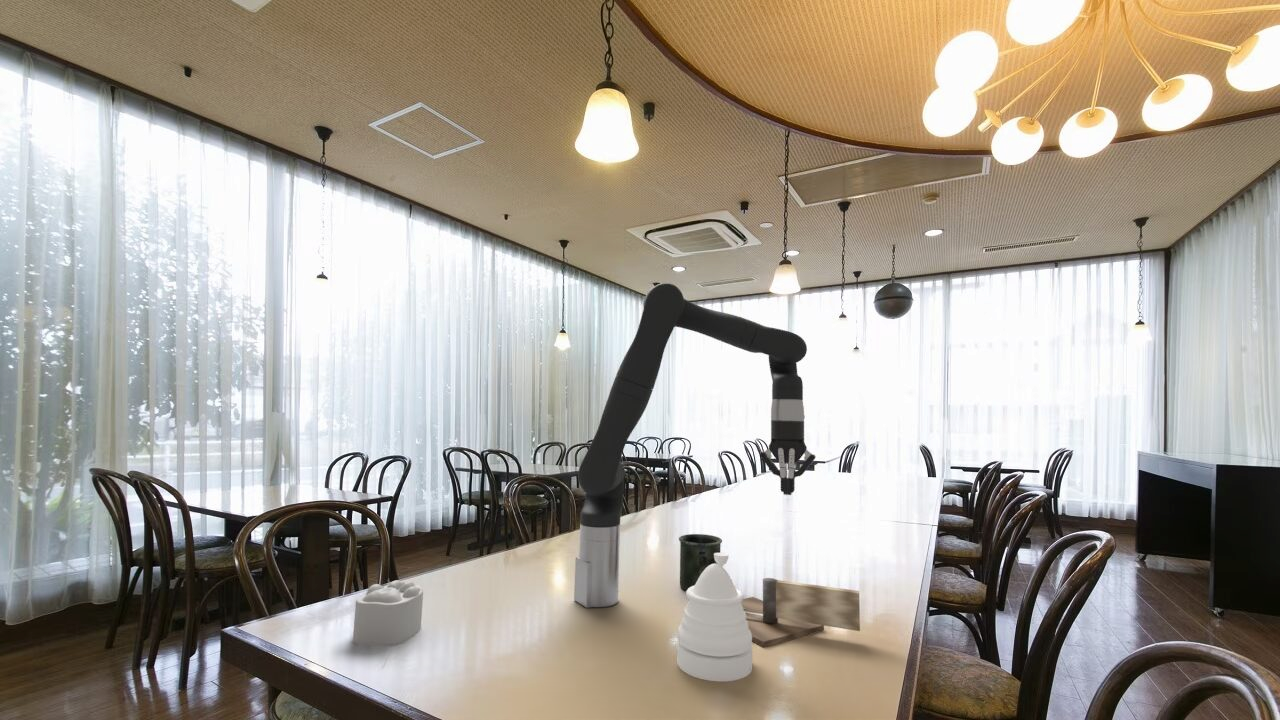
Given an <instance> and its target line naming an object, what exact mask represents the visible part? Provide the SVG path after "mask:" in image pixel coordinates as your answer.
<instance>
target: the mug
mask: <svg viewBox="0 0 1280 720" xmlns="http://www.w3.org/2000/svg"><path fill="white" fill-rule="evenodd" d="M678 541H679V543H680V545H679V546H680V548H679V552H680V553H679V562H680V563H679V587H680V588H681V589H682V590H684V591H685V592H686V591H687V590H688V588H690V587H692V586H694V585H695V584H696V582H697V580H698V578H699V577H700V575H701V574H702V572H703V571H704V570H705V569H706V567H708V566H709V565H711V564H717V563H716V561H715V558H714V553H721V546H722V545H721V544H723V539H722V538H720V537H718V536H716V535H710V534H705V533H704V534H702V533H701V534H700V533H690V534H684V535H683V534H682V535H681V536H679V537H678Z"/></svg>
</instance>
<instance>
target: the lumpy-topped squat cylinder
mask: <svg viewBox="0 0 1280 720" xmlns="http://www.w3.org/2000/svg"><path fill="white" fill-rule="evenodd" d="M423 597H424V589H423V587H422V586H421V585H419V584H416V583H414V582H413V581H412V580H408V581H406V582H402V581H401V580H397V579H396V580H393V581H391V582H390V583H389V584H388V585H385V586H384V585H381V584H379V583H375V584H372V585H371V586H369V587H368V589H367V591H366V593H364V594H362V595H360V596H359V597H358V598H356V599H355V606H354V607H355V608H354V619H353V620H354V621H353V632H352V634H353V636H352V642H353V643H354V644H356V645H365V646H366V645H372V646H373V645H374V646H378V647H391V646H396V645H399V644H403V643H404V642H406V641H408V640H410V639H411V638H413V637H414V636H416V634H418V633H419V632H420V631H421V629H422V617H423V616H422V615H423V600H424V598H423Z"/></svg>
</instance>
